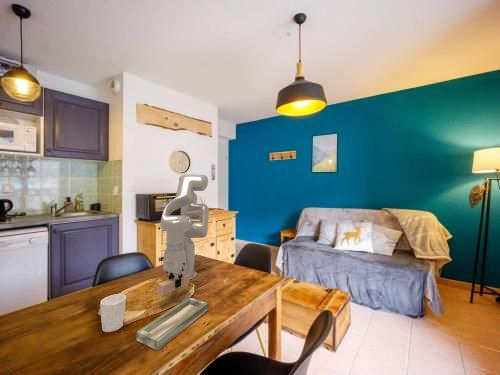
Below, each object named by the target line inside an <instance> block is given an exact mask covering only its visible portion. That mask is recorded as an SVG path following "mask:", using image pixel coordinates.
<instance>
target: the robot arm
mask: <svg viewBox="0 0 500 375" xmlns="http://www.w3.org/2000/svg"><path fill="white" fill-rule="evenodd" d="M208 185H209V178H208V176H207V175H206V174H192V173H191V174H190V173H189V174H186V173H185V174H182V175H180V176H179V177H178V186H177V190H176V195H175V197H174V198H173V199H172V200H170V201H169V202H168V203H167V204H166V206H165V207H164V208H163V210H162V214H161V218H160V228H161V230H162V231H164V232H166V242H165V246H166V248H164V254H163V260H162V265H163V266H162V268H163V271H165V273H166V276H167V278H168V279H167V280H169V279H172V278H175V277H176V280H175V288H176V290H178V289H179V288H178V287H180V286H181V278H182V277H183V276H185V275H190V277H189V281H191V280H192V279H195V278H196V277H197V276H198V273H197V271H195V251H196V247H195V246H196V245H195V242H194V241H193V239H203V238H205V237H207V236H208V229H209V217H210V216H209V206H208V204H205V203H198V195H197V194H196V192H204V191H205V190H206V189H207V188H208ZM178 209H180V215H171V214H172V213H173V212H174V211H176V210H178ZM177 288H178V289H177Z"/></svg>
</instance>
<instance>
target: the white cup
mask: <svg viewBox="0 0 500 375" xmlns="http://www.w3.org/2000/svg"><path fill="white" fill-rule="evenodd" d="M126 299H127V296H126V295H125V294H122V293H117V294H116V293H115V294H111V295H109V296H106V297H104V298H102V299H101V300H100V307H101V316H100V322H101V330H102V331H103V332H104V333H111V332H115V331H118V330H120V329H121V328H122V327H123V326H124V324H123V319H124V320H125V314H126V313H125V312H126V302H127V301H126Z"/></svg>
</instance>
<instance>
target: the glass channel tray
mask: <svg viewBox="0 0 500 375" xmlns="http://www.w3.org/2000/svg"><path fill="white" fill-rule="evenodd" d="M208 310H209V303H208V302H205V301H202V300H199V299H196V298H193V297H188V298H186V299H184V300H182V302H180V303H178V304H177V305H175V306H173V307H172V308H171V309H169V310H167V311H166V312H164V313H163V314H161V315H160V316H158V317H157V318H155V319H154V320H152V321H151V322H149V323H147V324H146V325H144V326H143V327H141V328H140V329H139V330H137V331H136V334H135V335H136V338H135V340H136V341H137V342H138V343H141V344H143V345H145V346H147V347H149V348H151V349H153V350H155V351H157V352H158V351H159V350H161V349H162V348H163V347H165V345H167V344H168V343H169V342H171V340H173V339H174V338H175V337H177V336H178V335H179V334H180V333H182V332H183V331H184V330H186V329H187V328H188V327H189V326H190V325H191V324H193V323H194V322H195V321H197V319H199V318H200V317H201V316H202V315H204V314H205V313H207V311H208Z"/></svg>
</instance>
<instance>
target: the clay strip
mask: <svg viewBox="0 0 500 375" xmlns="http://www.w3.org/2000/svg"><path fill="white" fill-rule="evenodd" d="M189 277H190V275H185V276H183V277H182V278H181V286H180V287H178V288H177V289H176V288H175V280H176V277H175V278H172V279H169V280H168V279H166V280H165V281H161V282H159V283H157V288H156V294H158V295H161V296H165V295H167V294H169V293H171V292H174V291H177V290H178V289H181V288H183V287H185V286H186V285H189V284H190V280H189Z"/></svg>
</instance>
